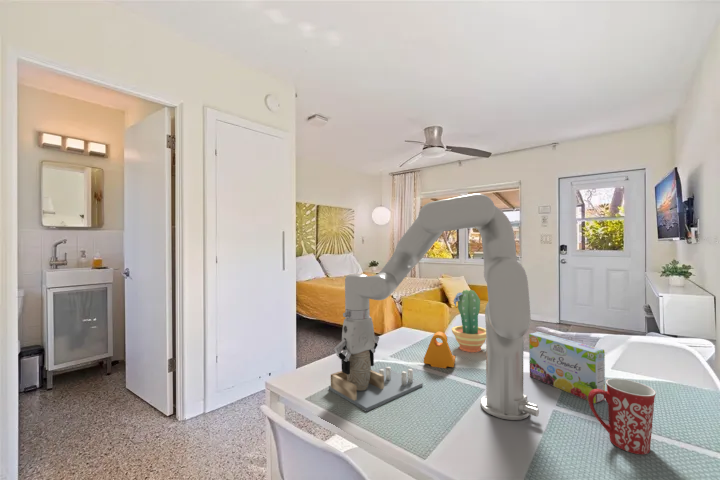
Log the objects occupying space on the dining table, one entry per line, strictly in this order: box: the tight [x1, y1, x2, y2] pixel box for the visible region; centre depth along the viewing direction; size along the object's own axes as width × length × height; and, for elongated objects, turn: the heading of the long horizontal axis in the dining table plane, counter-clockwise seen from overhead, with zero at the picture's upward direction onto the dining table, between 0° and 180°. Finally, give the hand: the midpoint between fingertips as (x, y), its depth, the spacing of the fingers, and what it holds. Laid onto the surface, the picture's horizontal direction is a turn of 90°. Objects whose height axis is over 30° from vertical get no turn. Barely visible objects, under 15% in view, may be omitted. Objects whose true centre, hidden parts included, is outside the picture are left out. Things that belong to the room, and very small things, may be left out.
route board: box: [328, 366, 424, 412], centre depth 107 cm, size 18×24×5 cm
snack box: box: [528, 331, 606, 404], centre depth 106 cm, size 21×6×15 cm, turn 27°
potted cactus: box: [451, 289, 486, 353], centre depth 144 cm, size 15×15×25 cm
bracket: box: [423, 331, 456, 369], centre depth 127 cm, size 11×7×12 cm, turn 68°
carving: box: [347, 350, 372, 391], centre depth 105 cm, size 6×8×12 cm
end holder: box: [330, 369, 384, 400], centre depth 105 cm, size 12×12×4 cm
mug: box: [587, 377, 657, 455], centre depth 78 cm, size 13×9×14 cm
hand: (358, 368), depth 105 cm, fingers open, 9 cm apart
